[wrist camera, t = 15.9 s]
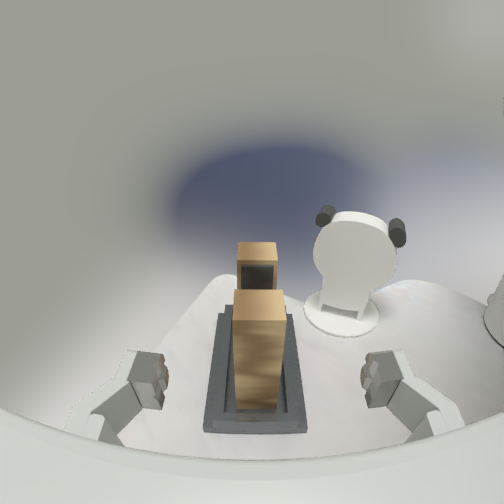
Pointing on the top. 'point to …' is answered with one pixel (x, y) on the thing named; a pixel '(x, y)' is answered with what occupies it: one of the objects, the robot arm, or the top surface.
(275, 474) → the robot arm
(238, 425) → the dark grey tray
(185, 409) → the top surface
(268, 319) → the oak finger
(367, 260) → the panda figurine
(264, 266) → the block
